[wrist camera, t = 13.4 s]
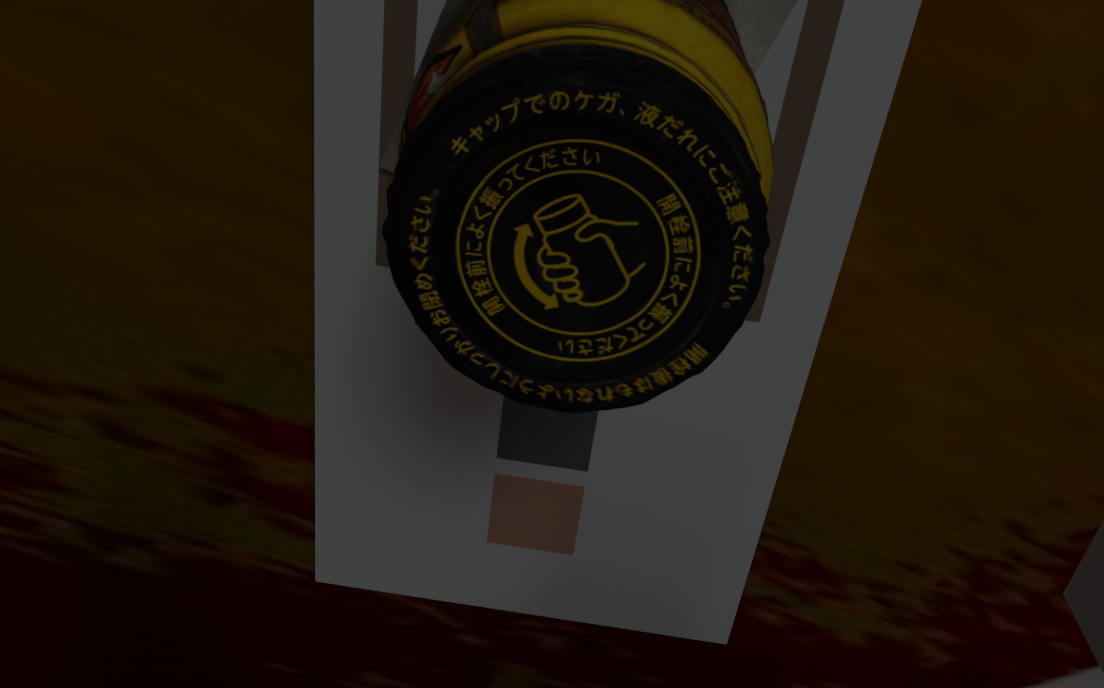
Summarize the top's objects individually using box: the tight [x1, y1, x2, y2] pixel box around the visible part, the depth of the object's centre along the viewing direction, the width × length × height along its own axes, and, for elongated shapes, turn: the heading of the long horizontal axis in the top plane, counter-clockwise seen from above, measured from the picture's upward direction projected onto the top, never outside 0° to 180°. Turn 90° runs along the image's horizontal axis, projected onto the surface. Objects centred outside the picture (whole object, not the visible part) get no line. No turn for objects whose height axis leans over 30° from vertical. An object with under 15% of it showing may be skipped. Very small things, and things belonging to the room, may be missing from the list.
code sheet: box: [314, 0, 922, 644], centre depth 27 cm, size 24×14×1 cm, turn 173°
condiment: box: [379, 0, 798, 414], centre depth 18 cm, size 7×8×12 cm
